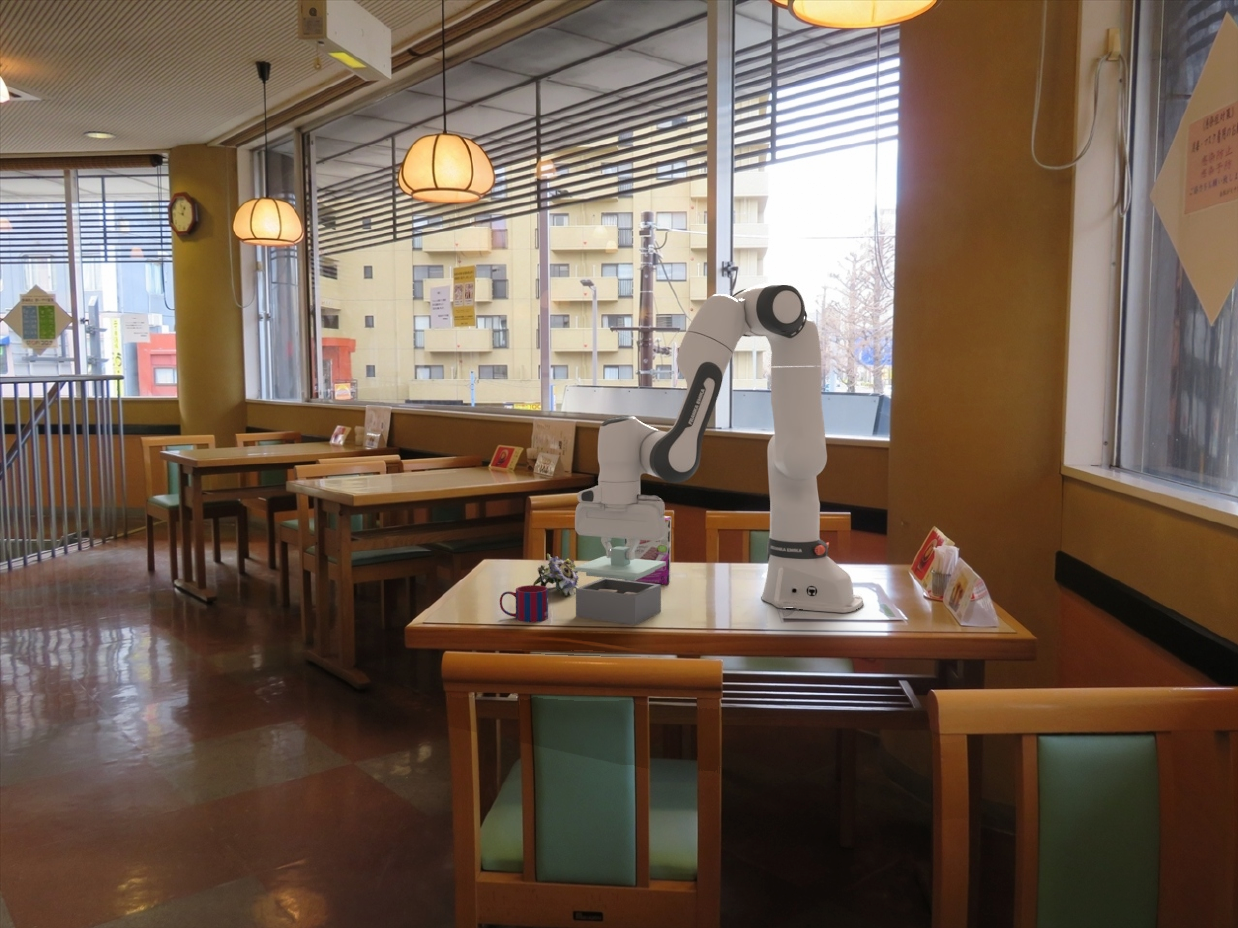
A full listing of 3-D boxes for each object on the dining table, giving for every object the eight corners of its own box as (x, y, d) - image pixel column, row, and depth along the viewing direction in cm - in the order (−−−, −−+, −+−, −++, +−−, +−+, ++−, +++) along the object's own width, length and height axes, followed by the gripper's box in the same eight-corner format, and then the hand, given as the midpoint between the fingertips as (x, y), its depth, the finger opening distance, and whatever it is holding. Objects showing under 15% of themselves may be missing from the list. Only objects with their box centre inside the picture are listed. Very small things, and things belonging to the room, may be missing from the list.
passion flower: (570, 620, 219) (570, 585, 211) (525, 609, 221) (524, 574, 213) (584, 584, 227) (585, 550, 219) (541, 574, 229) (540, 540, 221)
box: (660, 614, 203) (660, 584, 202) (635, 627, 192) (635, 596, 192) (603, 606, 210) (603, 577, 209) (575, 619, 199) (575, 588, 198)
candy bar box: (624, 584, 231) (624, 517, 230) (626, 579, 236) (626, 514, 235) (670, 585, 230) (670, 518, 229) (670, 580, 235) (671, 515, 234)
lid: (665, 570, 202) (665, 545, 202) (638, 583, 191) (638, 556, 190) (604, 564, 209) (604, 540, 209) (574, 576, 198) (573, 550, 197)
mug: (546, 624, 195) (546, 592, 194) (498, 624, 195) (497, 592, 194) (549, 616, 201) (549, 585, 201) (502, 616, 201) (502, 585, 201)
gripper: (670, 494, 196) (671, 559, 198) (585, 489, 206) (586, 552, 207) (657, 498, 191) (658, 565, 192) (570, 493, 200) (571, 557, 202)
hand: (620, 558), depth 200 cm, fingers closed on lid, 3 cm apart
